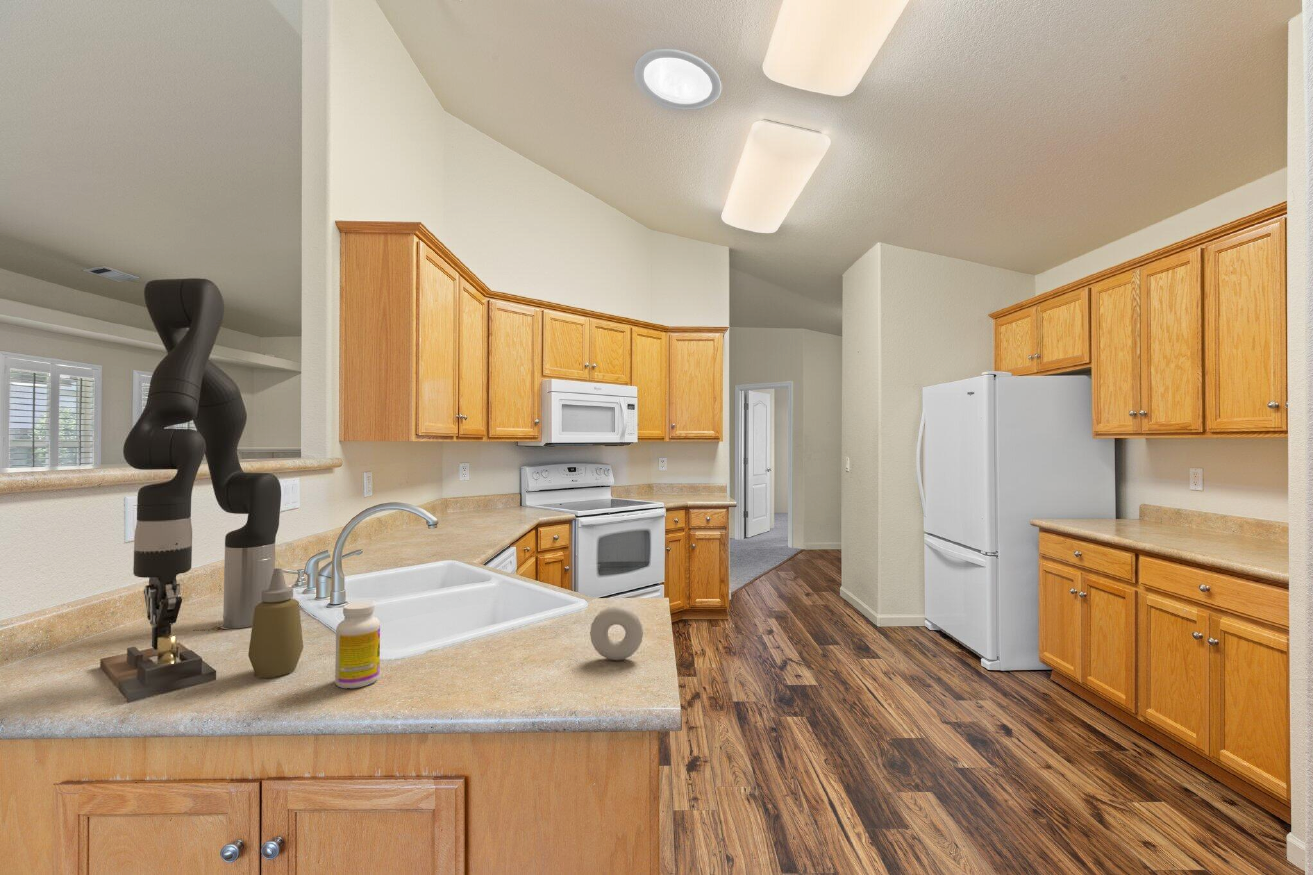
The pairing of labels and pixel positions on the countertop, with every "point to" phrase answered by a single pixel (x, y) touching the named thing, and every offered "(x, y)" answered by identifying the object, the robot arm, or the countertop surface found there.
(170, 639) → the lock bolt
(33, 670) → the countertop surface
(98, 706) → the countertop surface
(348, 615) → the supplement bottle
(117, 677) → the door board
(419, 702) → the countertop surface
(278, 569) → the squeeze bottle
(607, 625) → the donut
